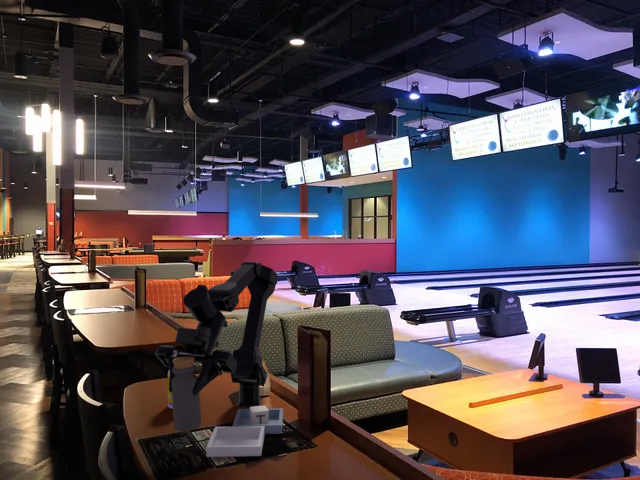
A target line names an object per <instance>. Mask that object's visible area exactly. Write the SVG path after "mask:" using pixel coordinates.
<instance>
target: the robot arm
mask: <svg viewBox="0 0 640 480" xmlns="http://www.w3.org/2000/svg"><path fill="white" fill-rule="evenodd" d="M278 281H279V276H278V273H277V272H276V271H275V270H274V268H270V267H268V266H266V265H264V264H262V263H261V262H259V261H247V260H245V261H243V262H242V263H241V265H240V267H239V268H238V269H237V270H236V271H235V272H234V273H233V274H231V276H229V278H228V279H227V280H226V281H224V282H223V283H220V284H215V285H214V286H212V287H210V288H209V289H208V286H207V285H206V284H197V286H196V287H195V288H193V289H191V290H190V291H188V292H187V293H186V294H185V295H184V297H183V304H184V306H185V307H186V309H187V310H188V311H189V313H190V316H191V317H192V318H193V319H194V320H195V321H197V322H198V324H197V325H196V328H188V327H178V328H177V332H176V336H175V341H174V342H175V343H178V344H182V345H181V348H182V350H185V352H180V351H179V350H178V348H177V347H176V346H175V345H167V344H166V345H163V344H162V345H159V346H158V347H157V349H156V351H155V353H154V355H155V357H156V358H157V359H158V360H159V362H161V364H162V365H163V366H164V367H166V368H169V370H170V378H169V391H170V392H171V393H172V379H173V378H174V377H176V375H175V374H174V373H173V370H172V369H173V368H174V363H173V360H174V359H176V358H179V357H188V356H190V357H194V358H195V360H194V364H195V363H196V364H197V363H198V364H201V369H200V372H199V374H198V379H197V381H196V384H195V386H194V389H193V395H197V394H198V393H199V392H201V391H202V390H203V389H204V388H205V387H206V386H207V385H209V384H210V383H211V382H212V381H213V380H215V379H216V378H217V377H219V376H222V375H223V373H226V374H230V377H231V383H232V384H233V383H234V384H235V383H236V384H238V388H239V389H238V394H239V395H238V396H239V397H238V401H237V403H236V407H254V406H262V399H263V398H262V397H260V396H261V395H260V393H261V391H260V389H261V388H260V387H261V385H265V384H266V382H267V378H268V372H267V371H266V369H265V367H264V366H263V356H262V354H261V351H260V342H261V337H262V330H263V325H264V321H265V320H264V319H265V315H266V314H265V313H266V308H267V303H268V302H267V301H268V300H269V299H270V297H271V296H272V295H273V294H274V292H275V290H276V286H277V284H278ZM246 288H247V289H248V292H249V294H250V300H249V305H248V310H247V314H246V315H247V316H246V319H245V320H246V321H245V326H244V330H243V336H242V341H241V345H240V347H239V348H238V349H234V350H233V352H231V351H230V350H228V349H227V350H226V349H215V348H218V347H219V346H220V342H219V341H218V340H219V336H220V335H221V332H222V329H223V328H228V327H229V326H228V321H227V319H226V316H225V315H224V314H223V313H222V312H224V313H233V312H234V311H235V310H236V308H237V306H238V304H239V302H240V299H239V296H240V295H241V294H242V292H244V290H245V289H246ZM214 349H215V350H214Z"/></svg>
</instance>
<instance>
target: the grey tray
mask: <svg viewBox="0 0 640 480" xmlns="http://www.w3.org/2000/svg"><path fill="white" fill-rule="evenodd" d="M211 433H212V434H211V436H210V438H209V441H208V443H207V444H206V450H205V451H206V458H213V457H214V458H215V457H217V458H221V457H222V458H223V457H224V458H226V457H261V456H262V453H263V448H264V447H263V446H264V441H265V435H266V434H265V426H235V427H233V426H214V428H213V431H212V432H211Z"/></svg>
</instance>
